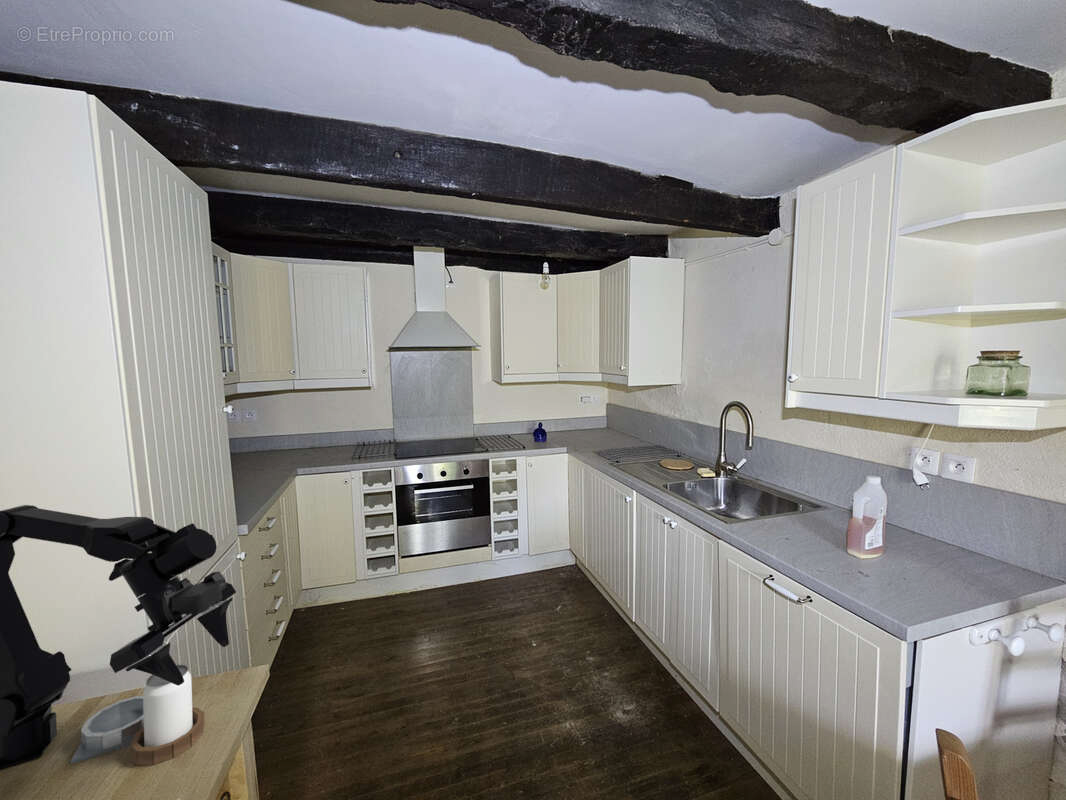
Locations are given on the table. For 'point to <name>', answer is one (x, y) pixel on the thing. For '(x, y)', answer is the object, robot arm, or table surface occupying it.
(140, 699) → the dock
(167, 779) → the table surface
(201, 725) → the brown segmented ring
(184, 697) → the can
